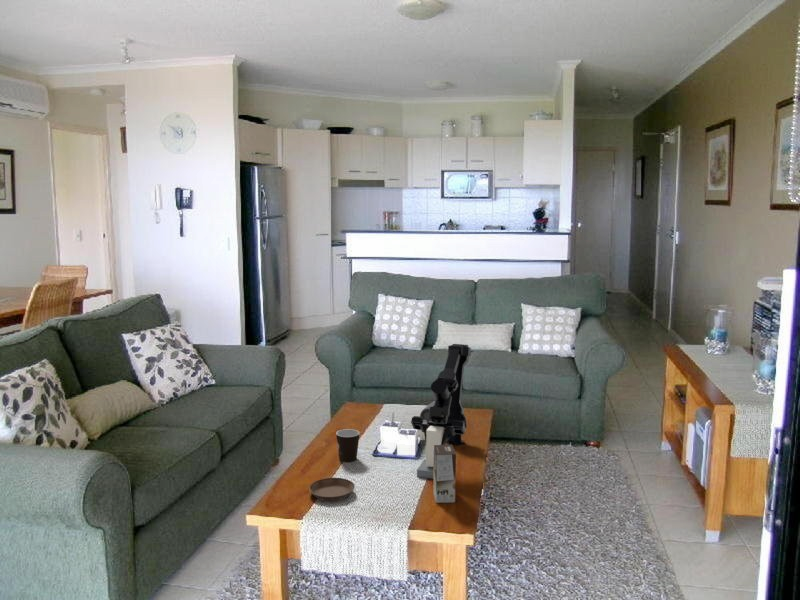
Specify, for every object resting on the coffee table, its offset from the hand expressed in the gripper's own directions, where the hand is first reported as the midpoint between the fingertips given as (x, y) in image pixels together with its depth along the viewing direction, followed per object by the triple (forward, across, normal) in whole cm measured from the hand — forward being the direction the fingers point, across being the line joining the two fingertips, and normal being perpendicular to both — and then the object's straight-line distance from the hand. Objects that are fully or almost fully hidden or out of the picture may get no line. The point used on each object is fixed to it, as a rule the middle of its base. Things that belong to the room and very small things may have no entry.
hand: (433, 447), depth 238 cm
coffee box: (+19, +8, -5) cm, 21 cm away
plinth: (+6, 0, +8) cm, 10 cm away
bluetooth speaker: (-32, -11, +47) cm, 58 cm away
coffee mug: (+3, -34, +11) cm, 36 cm away
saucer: (+25, -28, -11) cm, 39 cm away
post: (+4, 0, +6) cm, 7 cm away
